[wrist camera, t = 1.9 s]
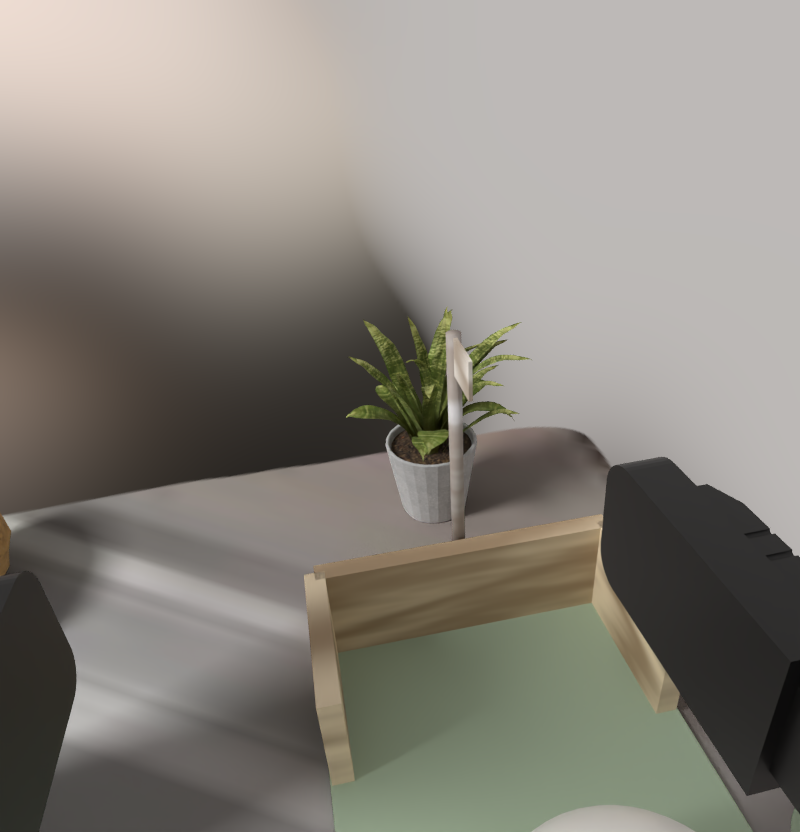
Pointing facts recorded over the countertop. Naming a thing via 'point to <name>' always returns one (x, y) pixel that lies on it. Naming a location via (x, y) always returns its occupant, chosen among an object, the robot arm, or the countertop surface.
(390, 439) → the house plant
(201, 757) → the countertop surface
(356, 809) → the green mat
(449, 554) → the wooden u-shaped frame
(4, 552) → the potato
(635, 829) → the ball
